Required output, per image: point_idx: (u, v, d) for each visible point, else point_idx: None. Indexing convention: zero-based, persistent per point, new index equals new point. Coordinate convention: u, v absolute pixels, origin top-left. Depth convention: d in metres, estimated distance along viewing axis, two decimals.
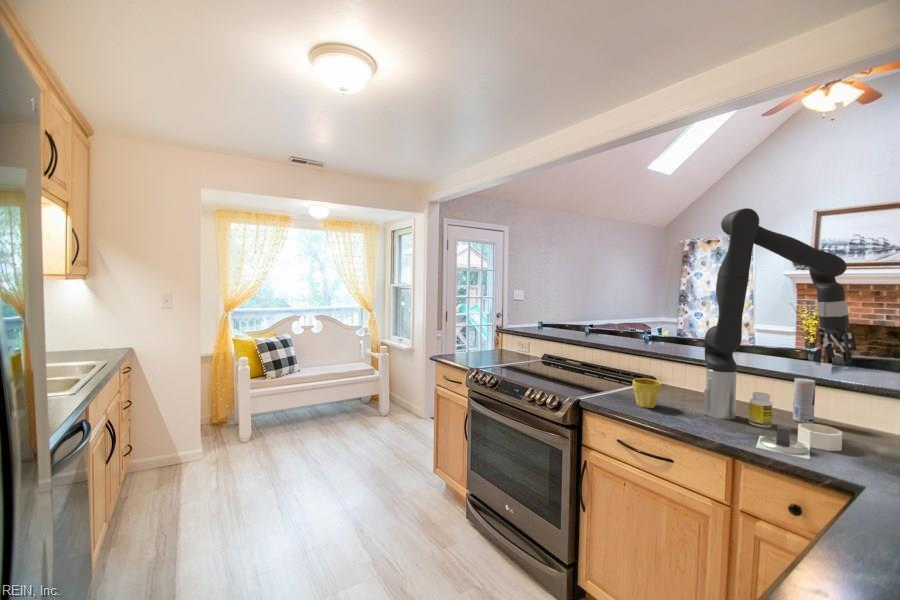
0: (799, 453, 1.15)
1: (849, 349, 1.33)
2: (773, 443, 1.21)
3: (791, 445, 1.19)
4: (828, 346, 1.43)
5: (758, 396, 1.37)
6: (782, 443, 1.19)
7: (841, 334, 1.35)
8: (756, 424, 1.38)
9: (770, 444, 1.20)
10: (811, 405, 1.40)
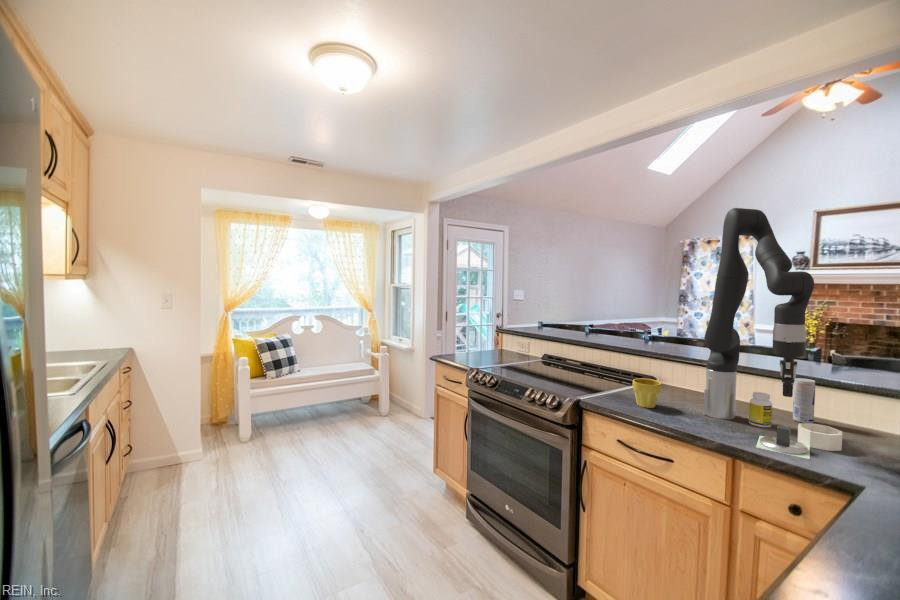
0: (799, 453, 1.15)
1: (784, 380, 1.15)
2: (773, 443, 1.21)
3: (791, 445, 1.19)
4: (787, 376, 1.23)
5: (758, 396, 1.37)
6: (782, 443, 1.19)
7: None
8: (756, 424, 1.38)
9: (770, 444, 1.20)
10: (811, 405, 1.40)
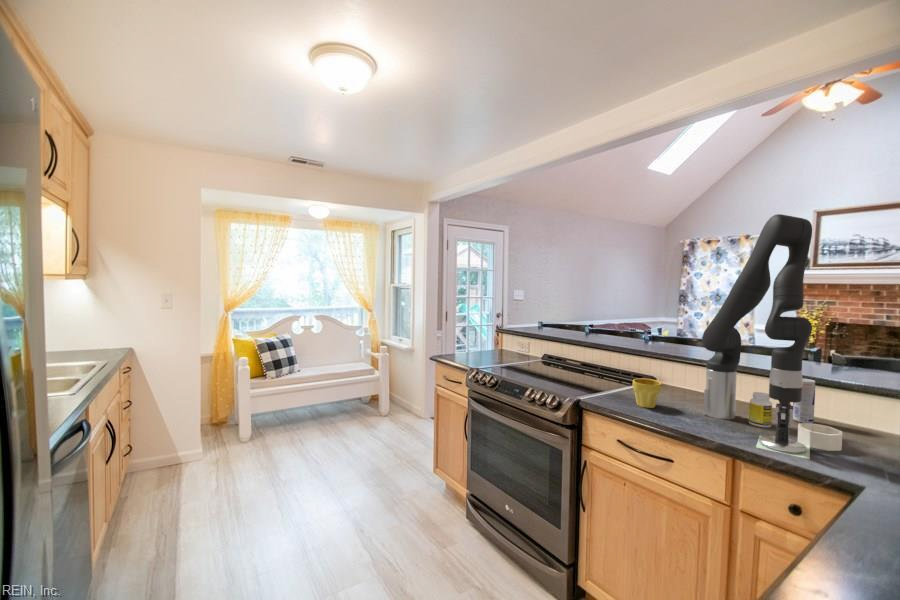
0: (798, 452, 1.15)
1: (780, 428, 1.17)
2: (772, 442, 1.21)
3: (790, 444, 1.20)
4: None
5: (758, 396, 1.37)
6: (781, 442, 1.20)
7: None
8: (756, 424, 1.38)
9: (769, 443, 1.20)
10: (811, 405, 1.40)
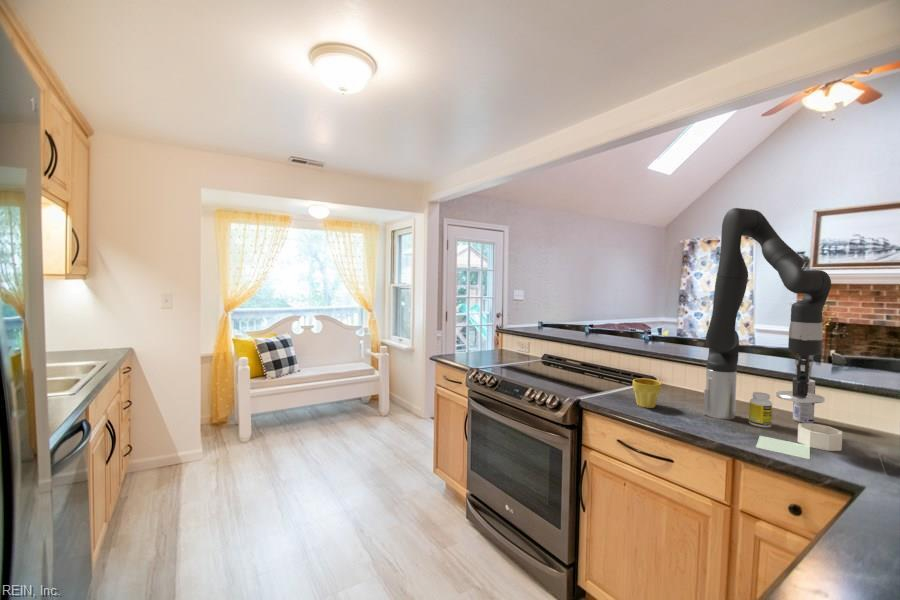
0: (816, 402, 1.16)
1: (799, 380, 1.18)
2: (789, 395, 1.22)
3: (808, 396, 1.20)
4: None
5: (758, 396, 1.37)
6: None
7: None
8: (756, 424, 1.38)
9: (786, 396, 1.21)
10: (811, 405, 1.40)
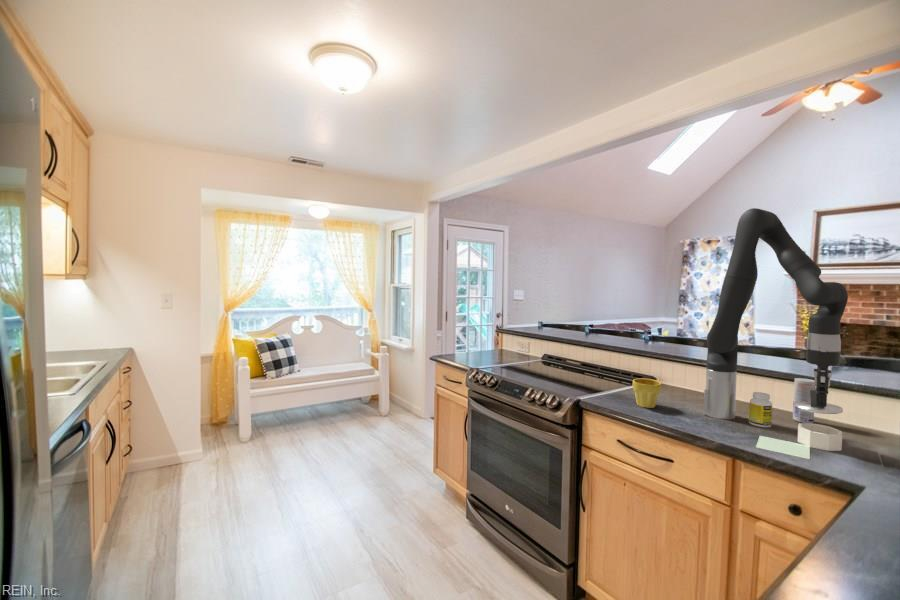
0: (836, 412, 1.17)
1: (819, 392, 1.19)
2: (808, 406, 1.23)
3: None
4: None
5: (758, 396, 1.37)
6: None
7: None
8: (756, 424, 1.38)
9: (805, 407, 1.22)
10: None
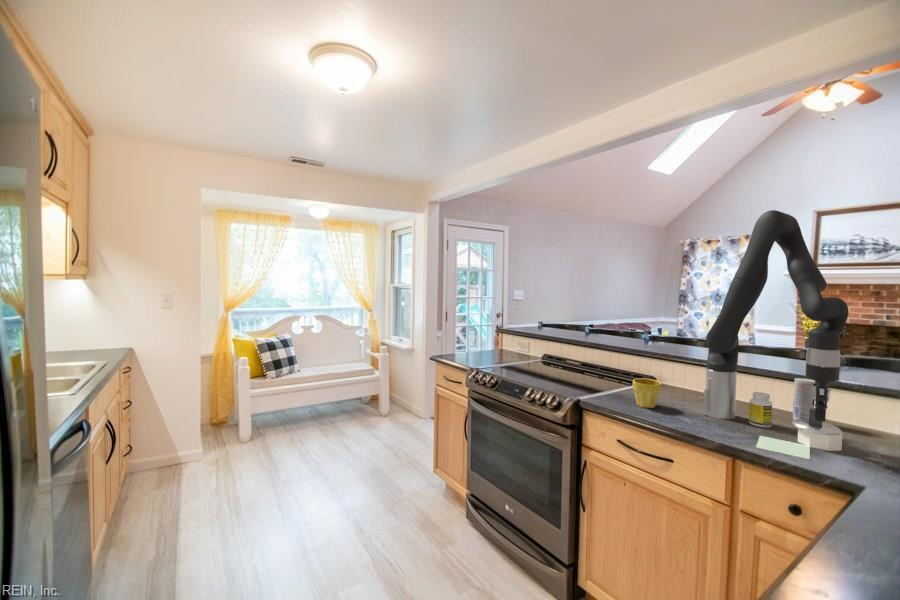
0: (833, 434, 1.17)
1: (818, 406, 1.18)
2: (805, 425, 1.23)
3: (823, 426, 1.22)
4: (819, 401, 1.25)
5: (758, 396, 1.37)
6: (815, 424, 1.22)
7: None
8: (756, 424, 1.38)
9: (803, 425, 1.23)
10: (811, 405, 1.40)
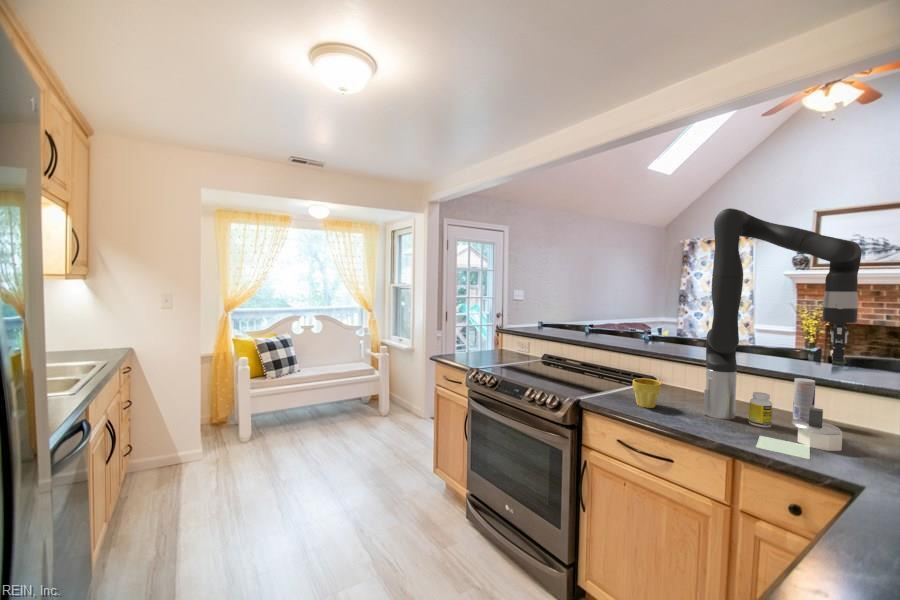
0: (833, 434, 1.17)
1: (835, 345, 1.17)
2: (805, 425, 1.23)
3: (823, 426, 1.22)
4: (837, 344, 1.25)
5: (758, 396, 1.37)
6: (815, 424, 1.22)
7: None
8: (756, 424, 1.38)
9: (803, 425, 1.23)
10: (811, 405, 1.40)
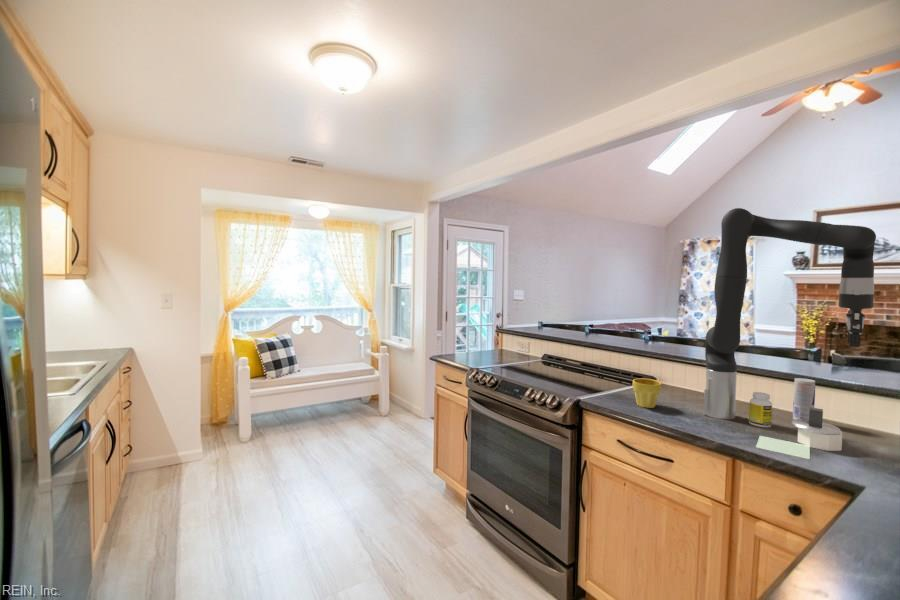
0: (833, 434, 1.17)
1: (853, 330, 1.19)
2: (805, 425, 1.23)
3: (823, 426, 1.22)
4: None
5: (758, 396, 1.37)
6: (815, 424, 1.22)
7: None
8: (756, 424, 1.38)
9: (803, 425, 1.23)
10: (811, 405, 1.40)
